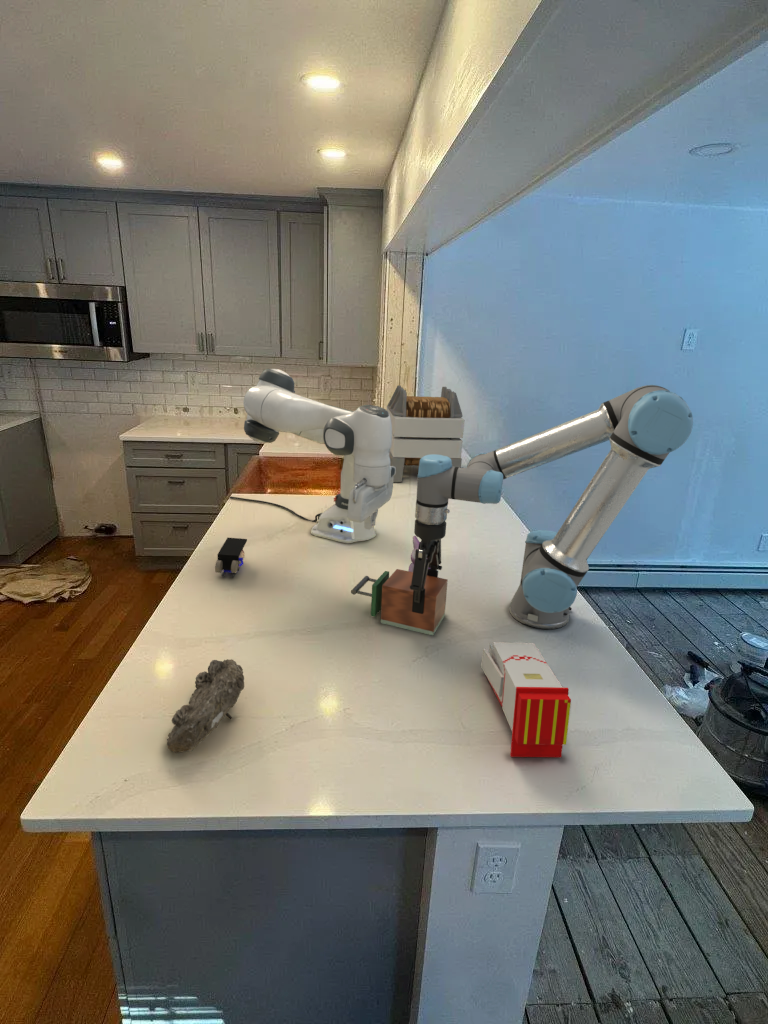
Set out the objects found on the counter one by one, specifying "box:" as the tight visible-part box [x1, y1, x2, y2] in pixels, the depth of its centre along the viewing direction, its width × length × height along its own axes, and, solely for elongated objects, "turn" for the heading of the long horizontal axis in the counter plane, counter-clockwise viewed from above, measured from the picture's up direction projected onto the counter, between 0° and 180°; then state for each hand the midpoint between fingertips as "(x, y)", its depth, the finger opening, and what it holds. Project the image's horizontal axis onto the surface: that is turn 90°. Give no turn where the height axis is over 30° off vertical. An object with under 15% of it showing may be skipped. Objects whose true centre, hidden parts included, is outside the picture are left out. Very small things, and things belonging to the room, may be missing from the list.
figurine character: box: [214, 537, 248, 578], centre depth 166 cm, size 7×8×15 cm
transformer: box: [386, 384, 465, 483], centre depth 268 cm, size 34×33×41 cm
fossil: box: [166, 658, 245, 754], centre depth 106 cm, size 22×10×15 cm
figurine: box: [407, 535, 431, 572], centre depth 161 cm, size 9×10×15 cm
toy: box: [480, 641, 572, 758], centre depth 113 cm, size 12×13×30 cm
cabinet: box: [380, 568, 449, 636], centre depth 143 cm, size 14×10×11 cm
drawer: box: [350, 570, 390, 618], centre depth 146 cm, size 18×9×9 cm, turn 69°
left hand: (369, 527), depth 142 cm, fingers closed
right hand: (424, 602), depth 142 cm, fingers closed on cabinet, 10 cm apart
